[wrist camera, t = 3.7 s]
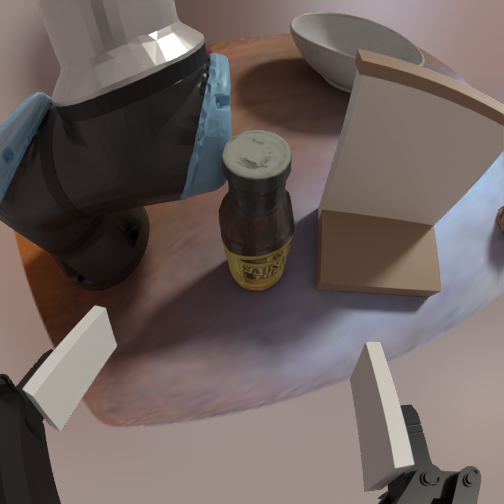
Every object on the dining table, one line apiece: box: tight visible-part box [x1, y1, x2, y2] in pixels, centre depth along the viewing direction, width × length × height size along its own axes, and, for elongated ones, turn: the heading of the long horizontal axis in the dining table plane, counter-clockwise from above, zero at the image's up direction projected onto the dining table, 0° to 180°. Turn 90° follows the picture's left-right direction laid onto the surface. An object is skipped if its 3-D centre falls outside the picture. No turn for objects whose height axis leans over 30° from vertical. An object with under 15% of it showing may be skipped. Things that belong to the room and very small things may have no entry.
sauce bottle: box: [219, 130, 295, 292], centre depth 24 cm, size 7×6×20 cm
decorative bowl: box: [290, 12, 425, 93], centre depth 42 cm, size 27×27×12 cm
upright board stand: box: [316, 49, 504, 297], centre depth 22 cm, size 17×11×23 cm, turn 83°
